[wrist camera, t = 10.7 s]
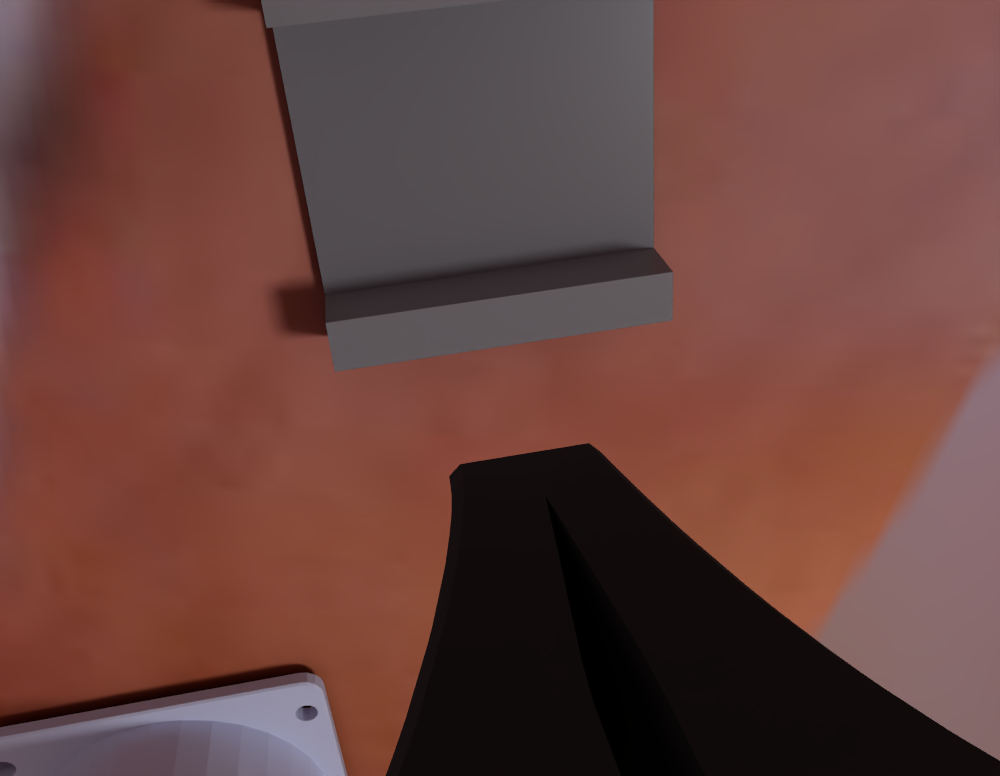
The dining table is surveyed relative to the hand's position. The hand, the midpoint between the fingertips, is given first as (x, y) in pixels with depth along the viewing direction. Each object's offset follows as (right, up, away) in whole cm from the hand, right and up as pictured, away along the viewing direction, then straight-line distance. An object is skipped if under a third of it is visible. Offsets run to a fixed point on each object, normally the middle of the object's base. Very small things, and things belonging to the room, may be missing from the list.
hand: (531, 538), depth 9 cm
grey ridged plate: (-1, +6, +8) cm, 10 cm away
